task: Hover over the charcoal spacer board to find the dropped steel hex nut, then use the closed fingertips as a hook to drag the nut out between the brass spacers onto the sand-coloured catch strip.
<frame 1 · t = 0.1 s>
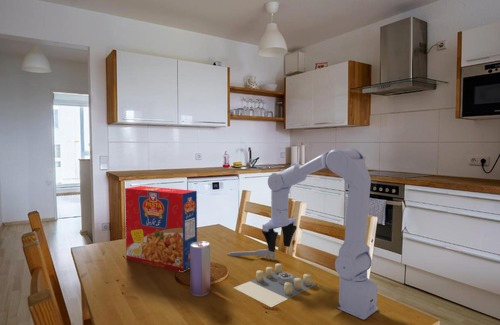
hand: (279, 248, 109), 10 cm above the table, tool pointing down, fingers open, 7 cm apart
spacer board: (274, 289, 100), on the table
beverage can: (200, 293, 98), on the table
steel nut: (285, 281, 103), point 1 cm above the table, touching spacer board
pasta box: (160, 262, 123), on the table
caliper: (250, 259, 127), on the table
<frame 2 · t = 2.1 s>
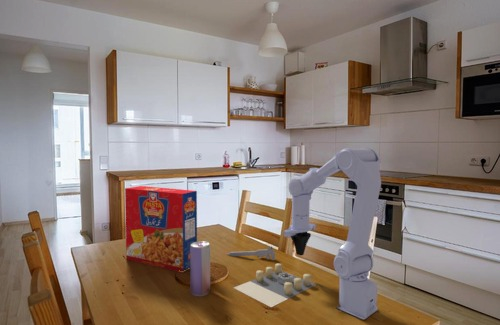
hand: (300, 254, 108), 8 cm above the table, tool pointing down, fingers closed
nothing on the table moved.
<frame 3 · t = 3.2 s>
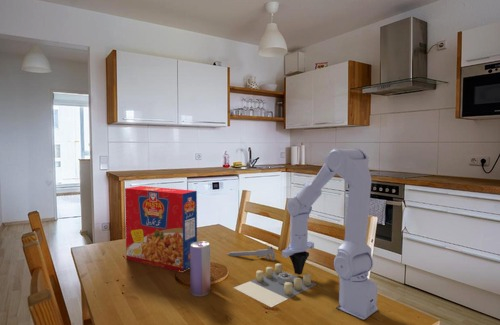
hand: (298, 273, 108), 2 cm above the table, tool pointing down, fingers closed
nothing on the table moved.
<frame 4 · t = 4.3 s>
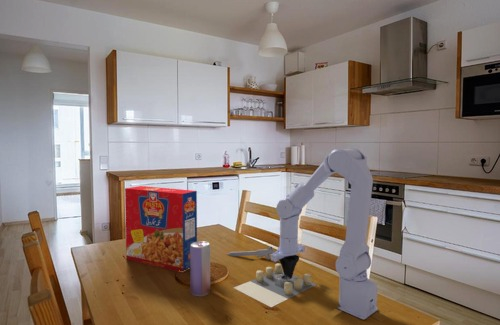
hand: (288, 277, 104), 2 cm above the table, tool pointing down, fingers closed
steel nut: (281, 283, 102), point 1 cm above the table, touching gripper
everything else where it was.
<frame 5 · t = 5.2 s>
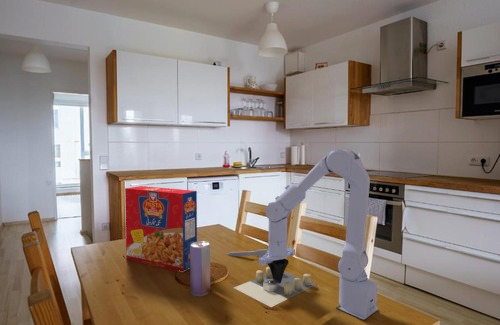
hand: (277, 282, 101), 2 cm above the table, tool pointing down, fingers closed
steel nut: (270, 288, 98), point 1 cm above the table, touching gripper, spacer board
everything else where it was.
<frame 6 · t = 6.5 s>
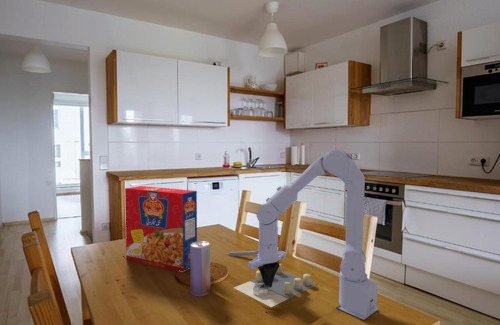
hand: (267, 286, 98), 2 cm above the table, tool pointing down, fingers closed
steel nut: (261, 292, 95), point 1 cm above the table, touching gripper, spacer board
everything else where it was.
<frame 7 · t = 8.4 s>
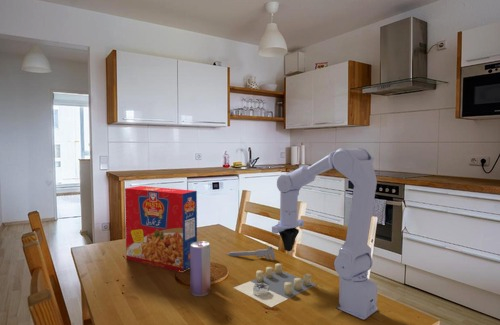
hand: (288, 250, 108), 9 cm above the table, tool pointing down, fingers closed
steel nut: (261, 292, 95), point 1 cm above the table, touching spacer board
everything else where it was.
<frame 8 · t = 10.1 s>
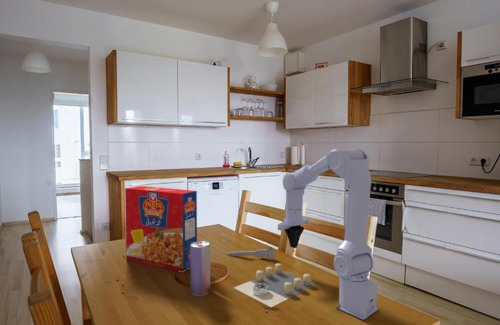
hand: (293, 247, 112), 9 cm above the table, tool pointing down, fingers closed
nothing on the table moved.
at the end: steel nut inside the target area (0.7 cm from its centre), point 1.0 cm above the table; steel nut moved 11.1 cm from its start; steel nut tilted 0° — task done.
